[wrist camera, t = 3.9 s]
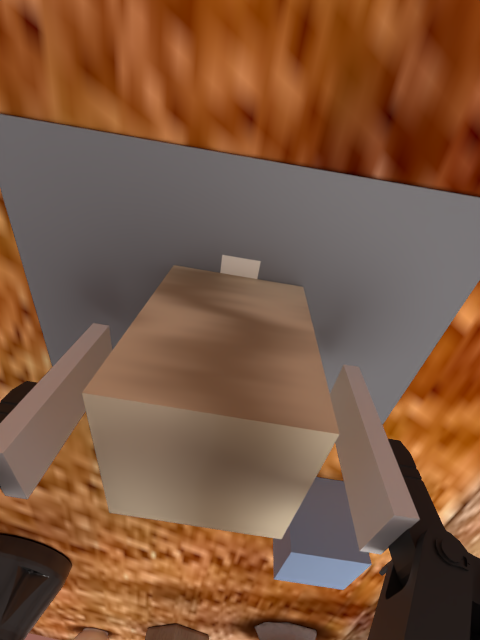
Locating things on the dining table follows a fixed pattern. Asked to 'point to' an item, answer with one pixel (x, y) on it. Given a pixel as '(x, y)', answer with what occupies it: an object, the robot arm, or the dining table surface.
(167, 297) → the maple block
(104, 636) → the lidded jar
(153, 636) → the wooden block
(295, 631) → the ceramic pitcher
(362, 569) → the blue cube
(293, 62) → the dining table surface
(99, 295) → the board
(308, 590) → the dining table surface
